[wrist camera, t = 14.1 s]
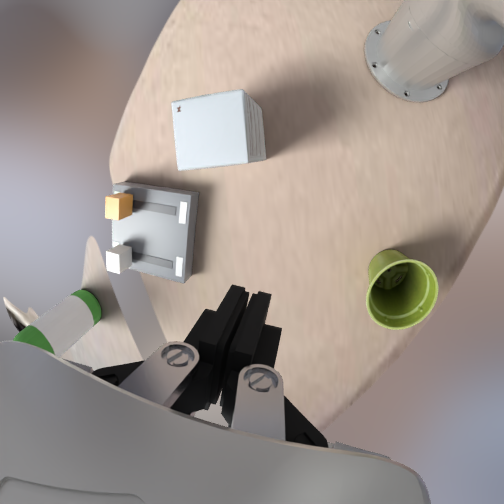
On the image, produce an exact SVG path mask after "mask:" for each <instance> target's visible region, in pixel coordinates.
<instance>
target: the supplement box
mask: <svg viewBox="0 0 504 504" xmlns="http://www.w3.org/2000/svg"><path fill="white" fill-rule="evenodd" d="M171 104H172V114H173V125H174V136H175V147H176V157H177V166H178V170H179V171H182V170H193V169H204V168H214V167H223V166H231V165H239V164H246V163H252V162H258V161H263V160H266V150H265V138H264V127H263V116H262V108H261V107H260V106H259V105H258V104H257V103H256V102H255V101H254V100H253V99H252V98H251V97H250V96H249V95H248V94H247V93H246V92H245V91H244V90H242V89H240V90H232V91H226V92H220V93H214V94H207V95H201V96H197V97H192V98H187V99H182V100H178V101H173V102H172V103H171Z"/></svg>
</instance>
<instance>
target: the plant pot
mask: <svg viewBox="0 0 504 504" xmlns="http://www.w3.org/2000/svg"><path fill="white" fill-rule="evenodd" d="M388 269H391V271H390V272H388V271H387V270H388ZM368 273H369V284H370V285H369V288H368V291H367V295H366V305H367V310H368V313H369V315H370V316H371V318H372V319H373V320H374V321H375V322H376V323H377V324H378V325H380V326H382V327H384V328H387V329H392V330H401V329H406V328H409V327H412V326H414V325H416V324H418V323H419V322H421V321H422V320H423V319H424V318H425V317H426V316H427V315H428V314H429V313H430V312H431V310H432V308H433V307H434V305H435V302H436V299H437V296H438V281H437V278H436V275H435V273H434V272H433V270H432V269H431V268H430V267H429V266H428V265H426V264H425V263H423V262H421V261H418V260H414V259H409V258H408V257H406V256H405V255H403V254H402V253H401V252H399V251H397V250H384V251H381V252H380V253H378V254H377V255H376V256H375V257H374V258H373V259H372V261H371V263H370V265H369V272H368ZM401 275H402V277H401V279H400V280H399V281H398V282H395V281H396V280H397V279H398V278H399V277H400V276H401ZM376 280H378V281H380V282H381V284H379V283H377V282H376Z"/></svg>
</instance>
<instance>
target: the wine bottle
mask: <svg viewBox="0 0 504 504" xmlns="http://www.w3.org/2000/svg"><path fill="white" fill-rule="evenodd" d="M100 318H101V307H100V305H99V303H98V301H97V299H96V298H95V297H94V296H93V295H92V294H91V293H90V292H88V291H86V290H78V291H76V292H74V293H73V294H71V295H70V296H68V297H67V298H65V299H64V300H62V301H61V302H60V303H58V304H57V305H56V306H54V307H53V308H51V309H50V310H49V311H47V312H46V313H45V314H43V315H42V316H40V317H39V318H38V319H36V320H35V321H34V322H32V323H31V324H30V325H28V326H27V327H26V328H25V329H23V330H22V331H21V332H19V333H18V334H17V335H16V336H15V338H14V340H13V341H18V342H23V343H28V344H30V345H33V346H36V347H39V348H41V349H43V350H46V351H48V352H50V353H52V354H54V355H56V356H58V357H60V356H62V355H63V354H64V353H65V352H66V351H67V350H68V349H69V348H70V347H71V346H72V345H73V344H75V343H76V342H77V341H78V340H79V339H80V338H81V337H82V336H83V335H84V334H86V333H87V332H88V331H89V330H90V329H91V328H92V327H93V326H94V325H95V324H97V323H98V322H99V320H100Z"/></svg>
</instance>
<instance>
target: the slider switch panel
mask: <svg viewBox="0 0 504 504" xmlns="http://www.w3.org/2000/svg"><path fill="white" fill-rule="evenodd" d="M117 193H126V194H133V206H132V215H131V216H128V217H126V218H123V219H121V220H119V221H118V220H114V219H112V248H113V247H115V246H117V245H119V244H121V245H125V246H129V247H132V266H130V267H129V269H132V270H135V271H139V272H143V273H146V274H150V275H154V276H157V277H161V278H165V279H169V280H173V281H176V282H180V283H185V282H186V281H187V280H188V279H189V278H190V277H191V276H192V263H193V250H194V239H195V228H196V217H197V208H198V198H199V192H194V191H187V190H181V189H174V188H167V187H160V186H153V185H146V184H138V183H130V182H121V183H116V184H113V194H117Z"/></svg>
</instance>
